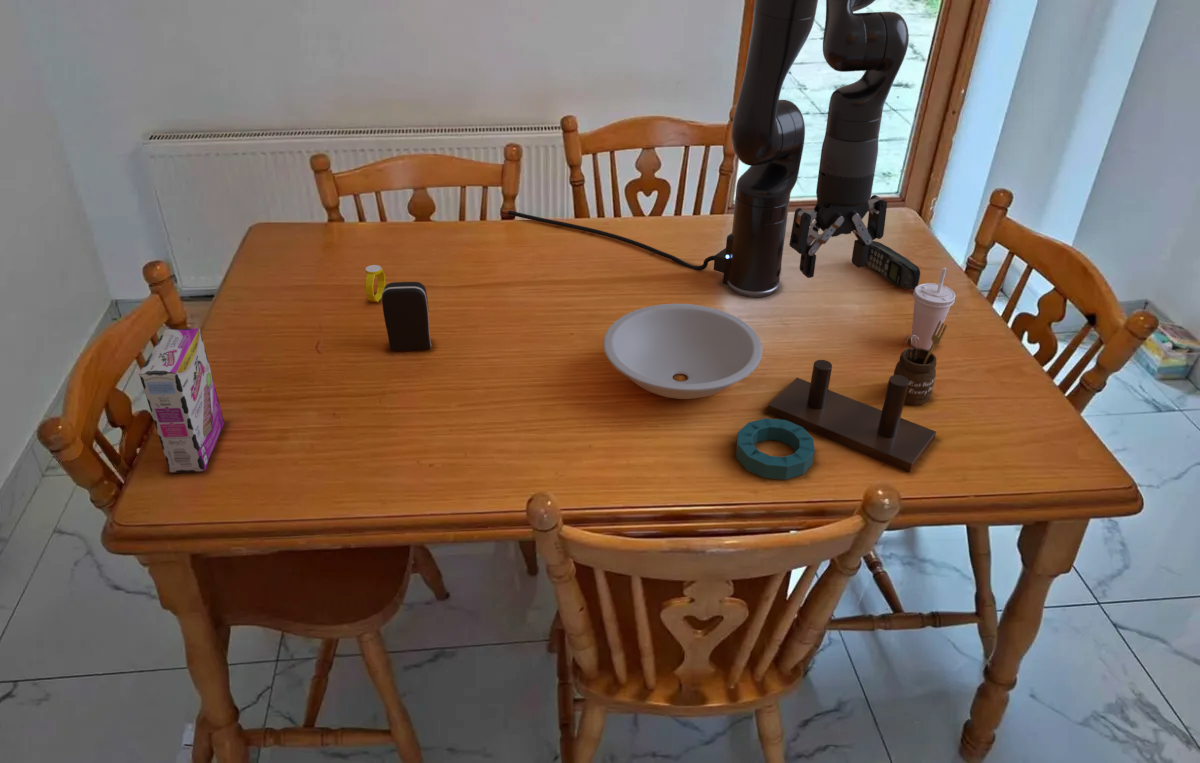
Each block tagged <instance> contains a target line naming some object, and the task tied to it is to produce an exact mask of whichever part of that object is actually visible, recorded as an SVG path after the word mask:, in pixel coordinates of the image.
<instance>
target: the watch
mask: <svg viewBox="0 0 1200 763" xmlns="http://www.w3.org/2000/svg"><path fill="white" fill-rule="evenodd" d="M364 269H365V274H366V278H365V288H364V289H365V295H366V299H367V300H368V301H369V302H370V303H379V301H381V300H382V293H383V291H384V288H385V286H386V285H387V283H386V281H387V280H386V279H387V278H386V273H385V272H384V270H383V267H382V266H381V265H378V264H372V265H371V264H370V265H368V266H366V267H365V268H364ZM375 277H377V288H376V293H375V289H374V287H375V286H374V285H375V279H376V278H375Z"/></svg>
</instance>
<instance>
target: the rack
mask: <svg viewBox="0 0 1200 763" xmlns="http://www.w3.org/2000/svg"><path fill="white" fill-rule="evenodd" d="M832 370H833V364H832V362H830V361H828V360H825V359H817V360H815V361H814V362H813V365H812V371H811V377H810V381H808V380H805V379H802V378H800V377H796V378H794V379H793V381H792V382H790V383H789V384H788V386H786V387H785V388H784V389H783V390H782V391H781V392H780V393H779V394H778V395H777V396H776V397H775V398H773V400H772V401H771V402H769V404H768V405H767V414H769V415H771V416H774V417H775V418H778V419H781V420H787V421H789V422H792V423H794V424H796V425H799V426H801V427H803V428H804V429H805V430H806V431H809V432H812V433H815V434H817V435H819V436H822V437H823V438H827V439H829V440H832V441H833V442H836V443H839V444H841V445H843V446H846V447H848V448H851V449H853V450H856V451H858V452H860V453H863V454H865V455H867V456H870V457H872V458H874V459H877V460H880V461H882V462H884V463H886V464H889V465H890V466H894V467H896V468H898V469H901V470H903V471H906V472H908V473H911V472H912V470H913V469H914V467H915V466H916V465H917V464H918V462H919V461H920V460H921V458H922V457H923V455H924V454H925V453H927V452H926V451H927V450H928V449H929V448H930V446H931V445H932V444H933V442H934V441H935V439H936V436H937V431H936V430H934V429H931V428H929V427H927V426H926V427H925V426H923V425H921V424H917V423H916V422H912V421H910V420H908V419H905V418H903V417H902V414H903V409H904V405H905V403H904V401H905V397H906V393H907V389H908V384H909V380H908V379H907V378H906V377H904V376H901V375H894V374H892V375H890V376H889V378H888V381H887V382H888V383H887V388H886V391H885V395H884V399H883V400H884V401H883V405H882V409H879V408H877V407H874V406H872V405H870V404H866V403H865V402H862V401H859V400H856V399H853V398H851V397H848V396H846V395H843V394H841V393H838V392H835V391H833V390H830V389H829V386H830V381H831V375H832Z"/></svg>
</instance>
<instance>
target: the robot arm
mask: <svg viewBox="0 0 1200 763" xmlns="http://www.w3.org/2000/svg"><path fill="white" fill-rule="evenodd" d="M875 2H876V0H825V23H824V31H823V39H822V54H823V57H824V60H825V62H826V63H827V65H828V66H829V67H830V68H831V69H832V70H834V71H836V72H839V73H849V72H864V73H863V75H862V76H861V78H859V79H858V80H857V81H855V82H853V83H850V84H847V85H843V86H840V87H838V88H836V89H835V90H834V91H833V92H832V93H831V95H830V98H829V103H828V110H827V117H826V118H827V119H826V126H825V133H824V138H823V142H822V145H821V149H820V150H821V151H820V159H819V165H818V166H819V167H818V175H817V182H816V190H815V194H816V204H815V206H814V207H813V209H806V210H805V209H803V208H801V207H798V208H796V209H795V211H794V213H793V219H792V226H791V232H790V238H789V244H788V245H789V247H790V248H791V249H793V250H794V251H796V252H797V253H798V254H799V255H800V259H799V271H800V272H801V274H802V275H803V276H805V277H806V278H807V279H811V278H814V276H815V268H816V262H817V254H816V253H817V252H818V250H819V249H820V248H821V246H822V245H825V244H827V242H828V241H829V240H830V238H831V237H832V238H833V237H834V238H835V237H838V236H841V235H851V234H852V233H853V235H854V236H855V238H856V239H855V240H854V242H853V247H852V248H853V249H852V253H851V264H852V265H853V266H854V267H856V268H857V269H860V268H864V267H865V264H864V263H866V261H867V257H868V251H869V245H870V244H871V243H872V241H875V240H881V239H882V238H883V237H884V234H885V227H886V226H885V225H886V218H887V209H888V202H887V201H886V200H885V199H883V198H881V197H880V196H878V195H876V194H873V195H872V192H873V186H874V180H875V173H876V167H877V162H878V161H877V160H878V154H879V136H880V132H881V131H880V130H881V123H882V119H883V118H882V117H883V111H884V107H885V103H886V101H887V98H888V97H889V94H890V91H891V89H892V86H893V84H894V82H895V80H896V77H897V75H898V73H899V71H900V69H901V66H902V65H903V62H904V59H905V57H906V54H907V52H908V47H909V40H910V39H909V38H910V33H909V28H908V24H907V21H906V20H905V18H904V17H903V16H902V15H901V14H899V13H898V12H896V11H874V12H873V11H872V12H857V11H860V10H863V9H865V8H867V7H869V6H870V5H872V4H873V3H875ZM818 3H819V0H754V7H753V15H752V16H753V17H752V26H751V32H750V38H749V43H748V44H749V45H748V51H747V57H746V63H745V69H744V74H743V78H742V82H741V86H740V91H739V95H738V99H737V101H736V107H735V111H734V115H733V120H732V125H731V143H732V149H733V151H734V154H735V155H736V157H737V159H738V160H739V161H740V162H741V163H742V164H743V165H746V166H749V167H748V168H747V169H746V171H745V172H743V173H742V174H741V175H740V177H739V178H738V179H737V182H736V186H735V196H734V197H735V198H734V206H733V209H734V210H733V218H732V230H731V233H729V234H728V235H727V236H726V242H725V248H723V249H722V250H720V251H719V252H717V253H716V254H714V255H710V256H707V257H706V258H705V259H704V260H703V263H702V265H694V264H690V263H688V262H686V261H684V260H682V259H680V258H678V257H677V256H675V255H672V254H670V253H668V252H664V251H662V250H660V249H657V248H654V247H652V246H650V245H647V244H645V243H642V242H639V241H636V240H634V239H631V238H627V237H624V236H621V235H618V234H615V233H611V232H608V231H605V230H600V229H596V228H592V227H587V226H584V225H579V224H574V223H569V222H564V221H560V220H555V219H549V218H545V217H539V216H536V215H531V214H528V213H527V214H526V213H522V212H518V211H515V210H514V211H513V210H508V211H507V214H508V215H509V216H514V217H518V218H522V219H526V220H531V221H534V222H540V223H545V224H549V225H554V226H559V227H563V228H569V229H573V230H577V231H582V232H587V233H591V234H595V235H599V236H603V237H606V238H610V239H613V240H617V241H620V242H623V243H626V244H629V245H632V246H635V247H638V248H640V249H643V250H646V251H649V252H650V253H653V254H655V255H658V256H661V257H663V258H665V259H668V260H671V261H673V262H675V263H677V264H679V265H680V266H682V267H685V268H689V269H692V270H696V271H703V270H706V268H707V267H708V265H709V262H711V261H713V271H715V272H719V273H721V274H722V284H723V285H724V286H725V285H726V286H727V287H728V289H729V290H731V291H732V292H733V293H736V294H738V295H741V296H744V297H749V298H763V297H768V296H771V295H773V294H775V293H776V292H778V290H779V287H780V279H781V276H782V272H781V271H782V261H783V255H784V254H783V253H784V246H785V240H786V230H787V223H788V215H789V208H790V200H791V193H792V191H793V189H794V188H795V186H796V184H797V181H798V177H799V173H800V167H801V162H802V158H803V153H804V152H803V151H804V146H805V139H806V138H805V137H806V125H805V119H804V115H803V113H802V112H801V110H800V108H799V107H798V106H797V105H796V104H795V103H794V102H793V101H790V100H789V99H788V100H787V99H780V96H781V92H782V88H783V85H784V82H785V80H786V78H787V75H788V74H789V72H790V69H791V68H792V66H793V64H794V62H795V61H796V60H797V58H798V56H799V54H800V53H801V51H802V49H803V47H804V46H805V44H806V42H807V40H808V38H809V36H810V33H811V32H812V29H813V26H814V23H815V18H816V15H817V14H816V13H817V9H818ZM867 213H868V215H867ZM866 215H867V216H868V217H867V226H866V225H865V223H864V221H863V219H864V217H865V216H866ZM813 221H814V222H813ZM820 230H821V231H822V233H821V234H820V233H819V231H820Z"/></svg>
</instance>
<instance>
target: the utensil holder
mask: <svg viewBox="0 0 1200 763" xmlns="http://www.w3.org/2000/svg"><path fill="white" fill-rule="evenodd" d="M940 324H941V321H939V323H938V325H937V327H936V329H935V331H934V333H933V335H932V338H931V339H932V342H933V344H932V346H931V348H930V349H929V350H926V349H922V348H916V347H914V346H913V341H911V340H910V345H911V347H908V345H907V344H908V340H909V339H908V338H911V337H912V336H913V335H912V334H910V335H907V336H906V337H905V338H904V339H903V341H905V340H906V341H905V343H902V344H903V346H902V348H903V350H902V352H901V354H900V355H899V360H898V361H897V363H896V365H895V367H894V371H893V375H901V376H904V377H906V378H907V379H908V380H909V384H908V389H907V393H906V397H905V401H904V404H906V405H911V406H917V405H923V404H925V403H927V402H928V401H929V400H930V398H931V396H932V393H933V389H934V385H935V380H936V375H937V371H936V367H937V357H936V354H934V353H933V350H934V347H935V345H937V344H938V345H939V344H940V343H941V342H942V338H943V336H944V334H945V332H946V330H947V328H948V325H947V324H945V322H944V323H942V325H941V327H940V329H939V331H938V328H939V326H940ZM937 331H938V333H937ZM936 333H937V335H936ZM915 336H916V335H914V337H915ZM917 337H918V336H917ZM914 339H915V338H914ZM919 341H920V340H919ZM916 343H917V342H916ZM904 346H905V347H904ZM904 348H905V349H904Z"/></svg>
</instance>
